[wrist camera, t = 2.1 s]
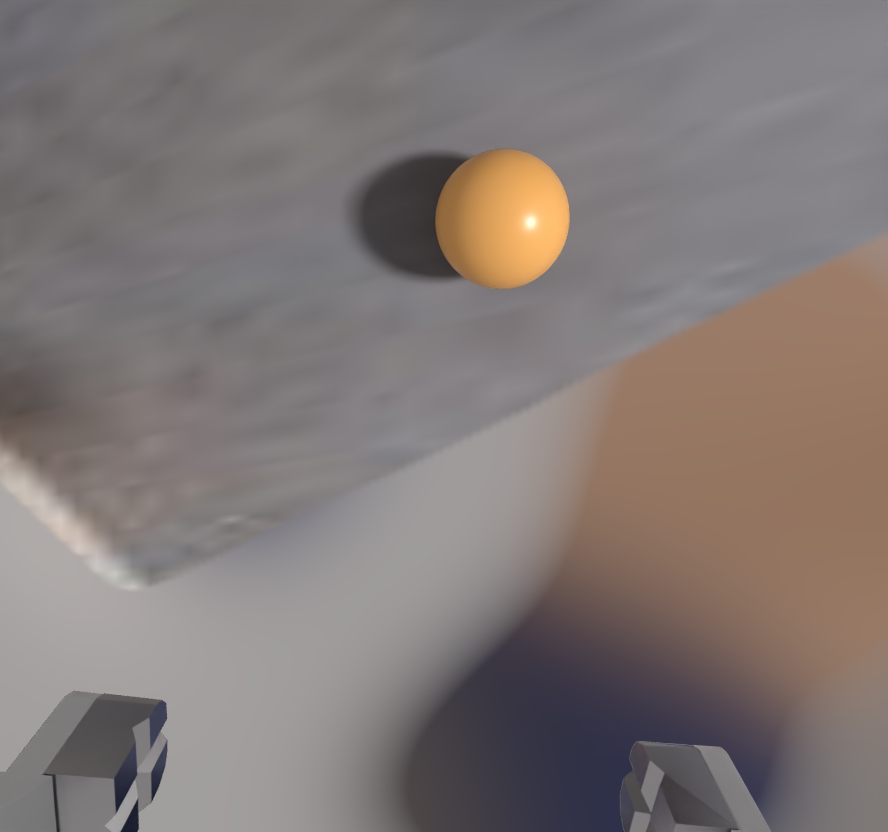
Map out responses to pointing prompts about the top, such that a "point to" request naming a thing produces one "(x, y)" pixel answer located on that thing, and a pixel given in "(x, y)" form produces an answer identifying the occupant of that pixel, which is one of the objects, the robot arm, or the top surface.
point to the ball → (502, 218)
